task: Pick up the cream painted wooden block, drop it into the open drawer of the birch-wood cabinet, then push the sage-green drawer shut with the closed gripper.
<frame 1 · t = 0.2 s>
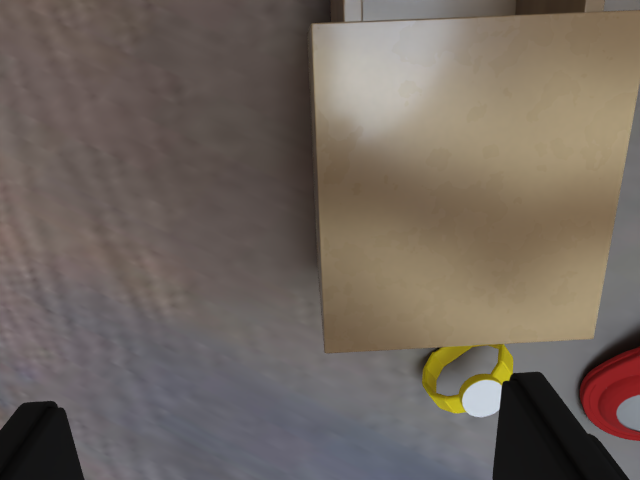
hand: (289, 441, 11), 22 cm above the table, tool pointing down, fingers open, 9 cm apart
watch: (452, 345, 36), on the table
cabinet: (418, 155, 31), on the table
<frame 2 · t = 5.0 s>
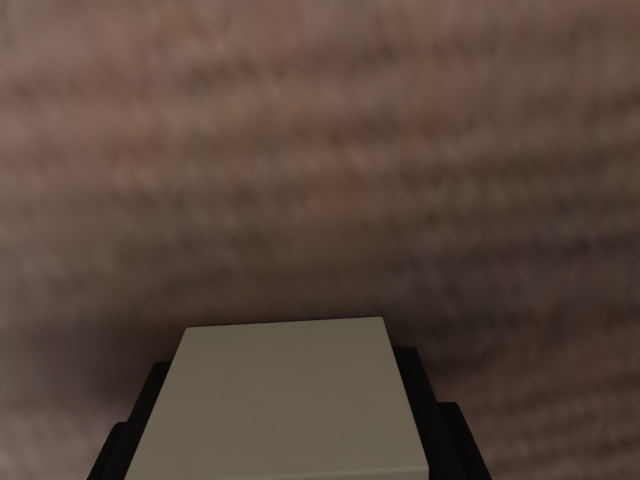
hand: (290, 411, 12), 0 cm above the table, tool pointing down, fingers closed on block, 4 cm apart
block: (290, 401, 12), on the table, touching gripper
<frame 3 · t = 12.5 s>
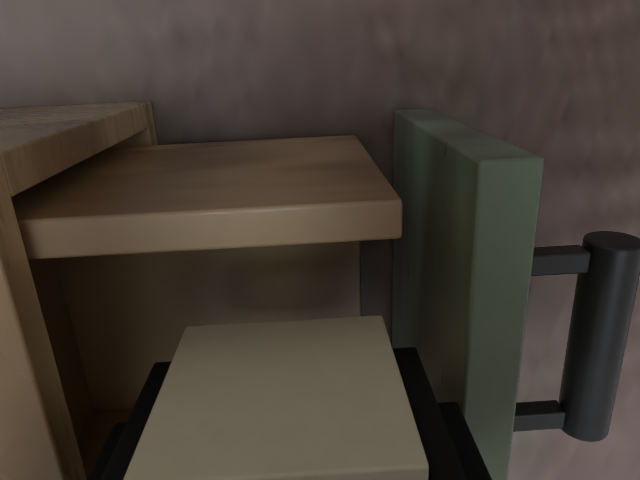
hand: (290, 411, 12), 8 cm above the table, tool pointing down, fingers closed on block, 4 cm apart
block: (290, 400, 12), point 8 cm above the table, touching gripper
drawer: (302, 338, 15), point 5 cm above the table, slide at 8.1 cm
when the fingers open (11 cm above the table, at t = 26.6 s): block drops 9 cm, resting on drawer.
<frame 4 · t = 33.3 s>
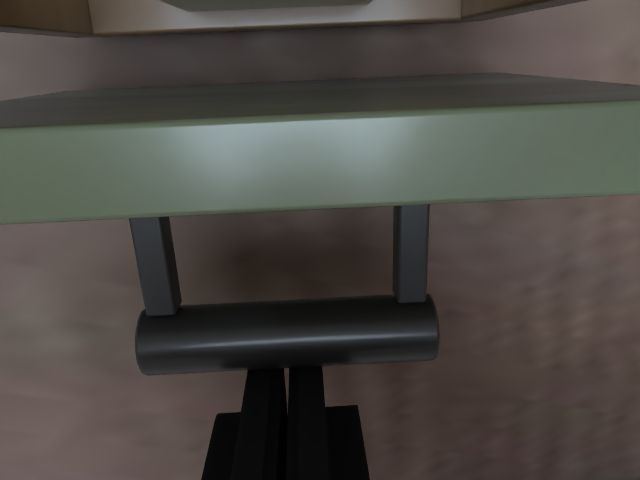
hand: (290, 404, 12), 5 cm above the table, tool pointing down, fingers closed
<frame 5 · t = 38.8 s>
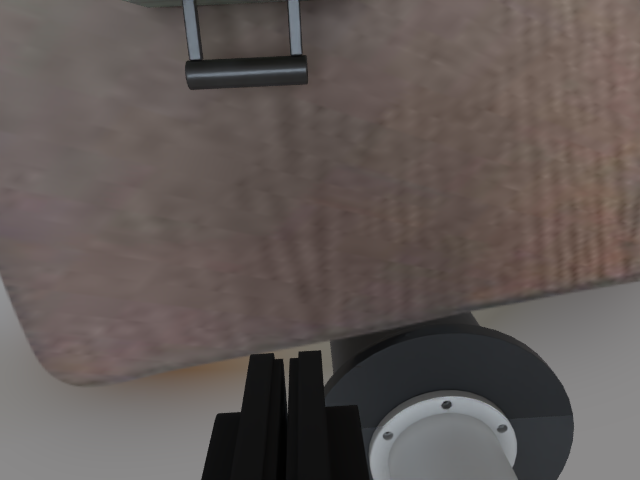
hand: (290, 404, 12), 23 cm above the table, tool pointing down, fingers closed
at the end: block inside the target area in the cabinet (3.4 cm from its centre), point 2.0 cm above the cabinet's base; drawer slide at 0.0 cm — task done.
